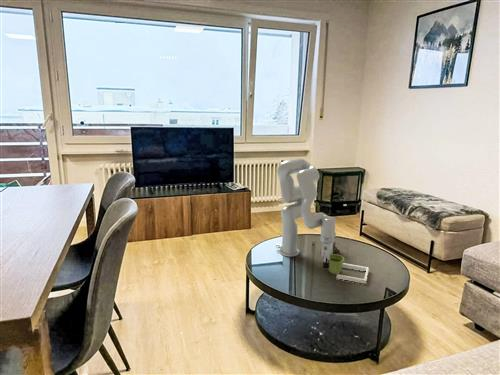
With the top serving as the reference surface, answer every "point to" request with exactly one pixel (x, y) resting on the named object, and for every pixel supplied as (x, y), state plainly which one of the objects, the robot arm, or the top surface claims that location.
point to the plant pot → (335, 263)
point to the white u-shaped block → (354, 267)
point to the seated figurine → (334, 248)
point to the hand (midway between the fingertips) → (325, 267)
